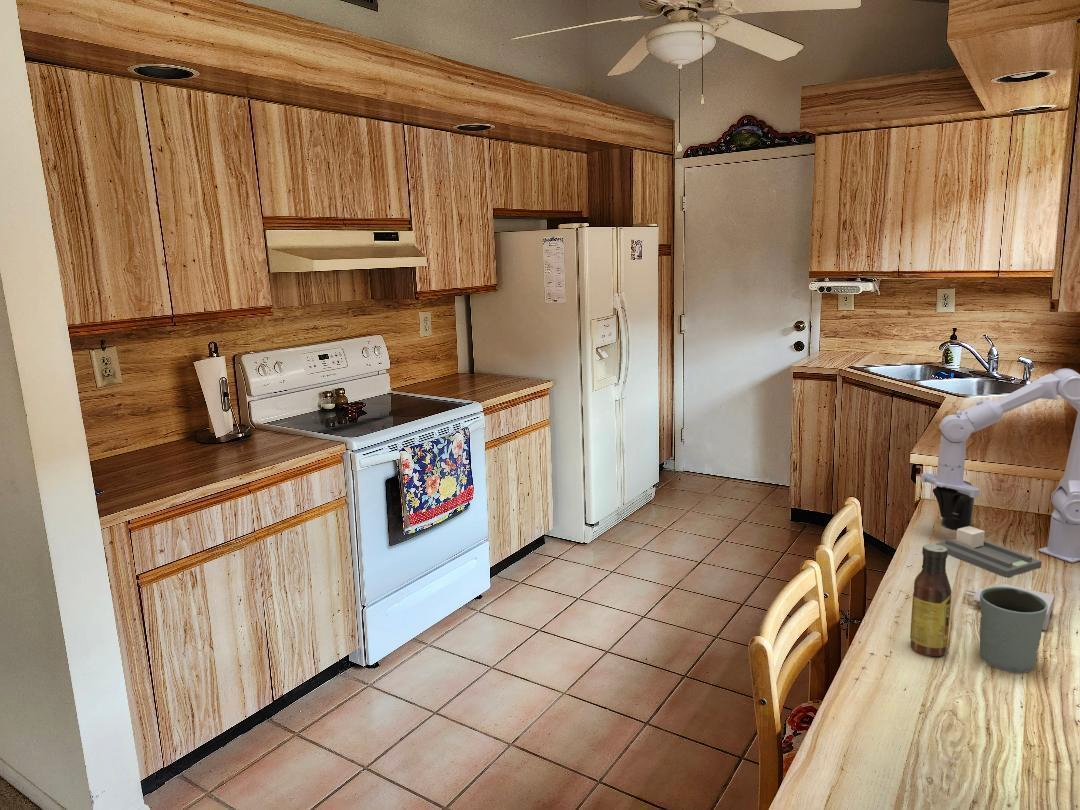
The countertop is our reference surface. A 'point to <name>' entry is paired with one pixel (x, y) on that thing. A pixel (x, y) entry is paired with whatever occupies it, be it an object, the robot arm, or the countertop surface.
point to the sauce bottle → (931, 603)
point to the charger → (1046, 597)
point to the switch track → (992, 557)
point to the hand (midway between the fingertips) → (945, 516)
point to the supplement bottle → (960, 513)
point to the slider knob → (970, 536)
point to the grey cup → (1010, 628)
